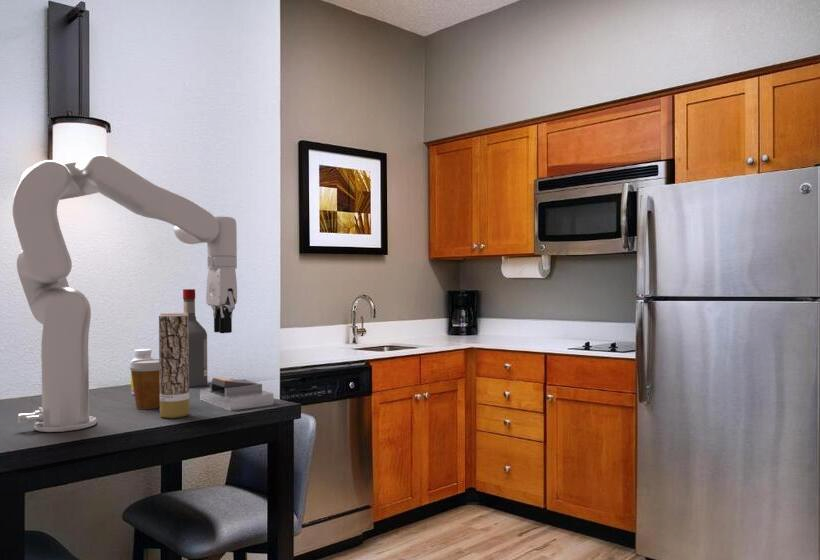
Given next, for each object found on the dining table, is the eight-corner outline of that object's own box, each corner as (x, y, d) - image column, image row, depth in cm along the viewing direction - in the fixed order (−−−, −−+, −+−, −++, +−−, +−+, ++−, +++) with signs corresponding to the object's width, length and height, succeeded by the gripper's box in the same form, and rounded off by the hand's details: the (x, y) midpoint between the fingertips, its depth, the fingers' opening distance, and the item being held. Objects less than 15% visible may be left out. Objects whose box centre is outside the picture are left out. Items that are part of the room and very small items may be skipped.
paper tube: (179, 419, 159) (178, 314, 158) (154, 418, 160) (153, 314, 160) (194, 413, 165) (193, 312, 165) (169, 412, 167) (168, 312, 167)
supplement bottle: (147, 391, 199) (146, 347, 199) (160, 393, 195) (160, 349, 195) (126, 394, 193) (125, 350, 193) (139, 396, 189) (139, 351, 189)
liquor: (181, 388, 202) (180, 289, 202) (170, 385, 209) (169, 289, 209) (210, 385, 208) (209, 289, 208) (198, 381, 215) (197, 288, 215)
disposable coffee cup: (154, 402, 181) (154, 357, 181) (176, 405, 176) (175, 360, 176) (121, 407, 173) (121, 361, 173) (143, 412, 168) (142, 364, 168)
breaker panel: (230, 410, 169) (230, 391, 168) (200, 399, 184) (199, 381, 184) (273, 404, 176) (273, 385, 176) (240, 394, 192) (240, 377, 192)
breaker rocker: (224, 387, 174) (224, 380, 174) (211, 383, 180) (212, 377, 180) (258, 389, 180) (259, 383, 180) (245, 385, 186) (246, 379, 186)
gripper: (196, 263, 182) (197, 331, 182) (221, 262, 169) (221, 335, 169) (223, 264, 186) (223, 329, 186) (248, 262, 174) (249, 333, 174)
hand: (222, 331), depth 178 cm, fingers open, 2 cm apart
